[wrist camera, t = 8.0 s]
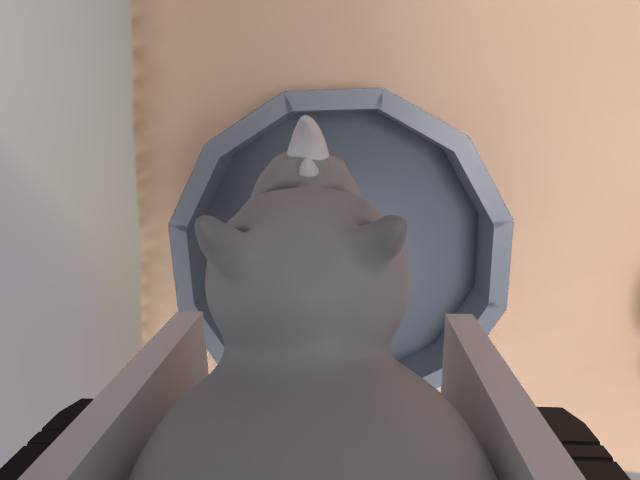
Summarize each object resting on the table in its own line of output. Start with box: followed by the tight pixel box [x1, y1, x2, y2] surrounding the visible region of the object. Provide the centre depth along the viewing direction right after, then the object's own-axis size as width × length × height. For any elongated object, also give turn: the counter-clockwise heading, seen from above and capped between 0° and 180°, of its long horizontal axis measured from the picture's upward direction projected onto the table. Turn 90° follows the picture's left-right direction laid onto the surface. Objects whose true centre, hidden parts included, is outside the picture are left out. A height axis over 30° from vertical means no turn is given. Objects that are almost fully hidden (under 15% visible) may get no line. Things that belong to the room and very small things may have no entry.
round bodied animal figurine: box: [128, 115, 498, 480], centre depth 9 cm, size 7×12×8 cm, turn 1°
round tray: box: [168, 88, 514, 389], centre depth 26 cm, size 19×19×4 cm
